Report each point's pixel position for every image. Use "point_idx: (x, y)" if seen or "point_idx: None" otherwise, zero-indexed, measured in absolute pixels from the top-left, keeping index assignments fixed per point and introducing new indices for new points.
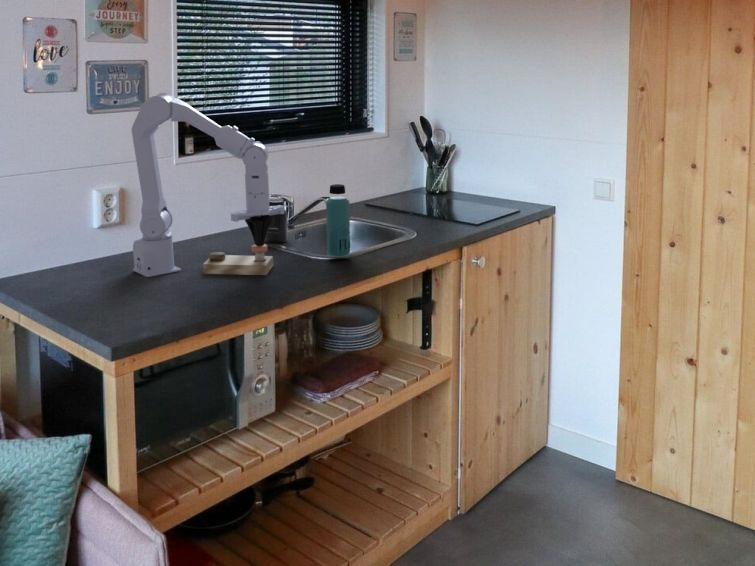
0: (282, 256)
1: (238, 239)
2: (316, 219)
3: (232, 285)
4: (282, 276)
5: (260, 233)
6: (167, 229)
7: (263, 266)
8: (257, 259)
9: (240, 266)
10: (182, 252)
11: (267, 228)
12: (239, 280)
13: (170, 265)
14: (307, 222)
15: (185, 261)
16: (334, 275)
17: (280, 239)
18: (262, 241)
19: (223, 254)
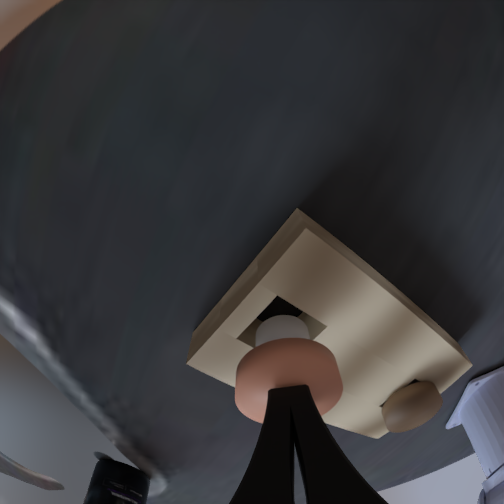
0: (127, 397)
1: (200, 499)
2: (46, 480)
3: (485, 153)
4: (228, 140)
5: (319, 463)
6: (497, 484)
7: (316, 235)
8: (306, 328)
9: (401, 301)
10: None
11: (241, 502)
12: (437, 201)
13: (495, 388)
14: (59, 482)
15: (399, 440)
16: (15, 59)
17: (111, 467)
18: (286, 409)
19: (406, 406)
